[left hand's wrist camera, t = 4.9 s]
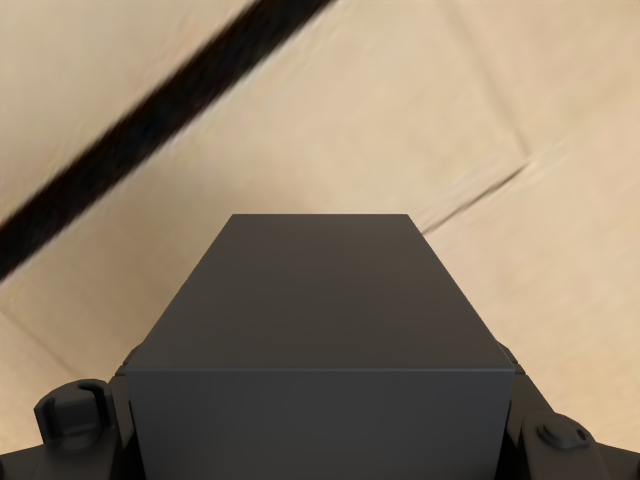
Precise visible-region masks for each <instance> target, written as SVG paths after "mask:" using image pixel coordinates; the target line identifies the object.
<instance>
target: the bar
mask: <svg viewBox="0 0 640 480" xmlns="http://www.w3.org/2000/svg"><path fill="white" fill-rule="evenodd" d="M515 372H516V369H515V366H514V365H513V363H512V362H511V361H510V359H509V358H508V356H507V355H506V353H505V352H504V351H503V349H502V348H501V346H500V345H499V343H498V342H497V341H496V339H495V338H494V336H493V335H492V334H491V332H490V331H489V329H488V328H487V326H486V325H485V324H484V322H483V321H482V319H481V318H480V317H479V315H478V314H477V312H476V311H475V309H474V308H473V307H472V305H471V304H470V302H469V301H468V299H467V298H466V297H465V295H464V294H463V292H462V291H461V290H460V288H459V287H458V285H457V284H456V282H455V281H454V280H453V278H452V277H451V275H450V274H449V273H448V271H447V270H446V268H445V267H444V265H443V264H442V263H441V261H440V260H439V258H438V257H437V255H436V254H435V253H434V251H433V250H432V248H431V247H430V246H429V244H428V243H427V241H426V240H425V238H424V237H423V236H422V234H421V233H420V231H419V230H418V229H417V227H416V226H415V224H414V223H413V221H412V220H411V219H410V217H409V216H408V215H407V214H233V215H232V216H231V218H230V219H229V220H228V222H227V223H226V225H225V226H224V227H223V229H222V230H221V232H220V233H219V235H218V236H217V237H216V239H215V240H214V242H213V243H212V245H211V246H210V247H209V249H208V250H207V252H206V253H205V254H204V256H203V257H202V259H201V260H200V262H199V263H198V264H197V266H196V267H195V269H194V270H193V272H192V273H191V274H190V276H189V277H188V279H187V280H186V282H185V283H184V284H183V286H182V287H181V289H180V290H179V291H178V293H177V294H176V296H175V297H174V299H173V300H172V301H171V303H170V304H169V306H168V307H167V309H166V310H165V311H164V313H163V314H162V316H161V317H160V319H159V320H158V321H157V323H156V324H155V326H154V327H153V328H152V330H151V331H150V333H149V334H148V336H147V337H146V338H145V340H144V341H143V343H142V344H141V346H140V347H139V348H138V350H137V351H136V353H135V354H134V355H133V357H132V358H131V360H130V361H129V363H128V364H127V365H126V367H125V375H126V380H127V385H128V390H129V395H130V400H131V405H132V411H133V416H134V421H135V426H136V431H137V436H138V441H139V446H140V452H141V457H142V462H143V467H144V472H145V477H146V480H494V479H495V474H496V469H497V464H498V459H499V454H500V449H501V444H502V439H503V433H504V428H505V423H506V418H507V413H508V408H509V403H510V398H511V393H512V388H513V382H514V377H515Z"/></svg>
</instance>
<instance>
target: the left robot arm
mask: <svg viewBox="0 0 640 480" xmlns="http://www.w3.org/2000/svg"><path fill="white" fill-rule="evenodd" d="M496 341H497V340H496ZM497 342H498V341H497ZM498 343H499V345H500V346H501V348H502V349H503V351H504V352H505V353H506V355H507V356H508V358H509V359H510V361H511V362H512V363H513V365H514V366H515V369H516V372H515V377H514V382H513V388H512V393H511V398H510V403H509V408H508V413H507V418H506V423H505V428H504V433H503V439H502V444H501V449H500V454H499V459H498V464H497V469H496V474H495V479H494V480H640V453H637V452H632V451H628V450H624V449H620V448H616V447H612V446H607V445H604V444H601V443H598V442H596V441H595V440H594V438H593V437H592V435H591V434H590V432H589V431H587V430H586V429H585V428H584V427H583V426H582V425H580V424H579V423H578V422H576V421H574V420H572V419H570V418H569V417H567V416H565V415H561V414H558V413H555V412H554V411H553V409H552V408H551V407H550V405H549V404H548V402H547V401H546V400H545V398H544V397H543V396H542V394H541V393H540V391H539V390H538V389H537V387H536V386H535V385H534V383H533V382H532V380H531V379H530V378H529V376H528V375H526V372H525V371H524V369H523V368H522V367H521V365H520V364H518V361H517V360H516V358H515V357H514V356H513V354H512V353H511V352H510V350H509V349H508V348H507V347H505V346H504V345H502V344H501V343H500V342H498ZM141 344H142V343H141ZM141 344H140V345H139V346H137V347H136V348H134V349H133V350H132V351H131V352H130V354H129V355H128V356H127V358H126V359H125V361H124V362H123V365H122V366H120V367H119V369H118V370H117V372H116V373H115V376H113V377H112V379H111V380H110V381H109V383H108V384H107V383H106V382H105V381H102V380H98V379H83V380H78V381H74V382H71V383H67V384H65V385H63V386H61V387H59V388H57V389H54V390H52V391H51V392H50V393H48V394H47V395H46V396H44V397H43V398H42V399H41V400H40V401H39V402H38V404H37V405H36V406H35V408H34V413H35V416H36V419H37V423H38V426H39V429H40V433H41V436H42V440H43V443H44V444H42V445H39V446H36V447H32V448H28V449H23V450H19V451H15V452H11V453H7V454H3V455H0V480H146V477H145V472H144V467H143V462H142V457H141V452H140V446H139V441H138V436H137V431H136V426H135V421H134V416H133V411H132V405H131V400H130V395H129V390H128V385H127V380H126V375H125V367H126V365H127V364H128V363H129V361H130V360H131V358H132V357H133V355H134V354H135V353H136V351H137V350H138V348H139V347H140V346H141Z"/></svg>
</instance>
